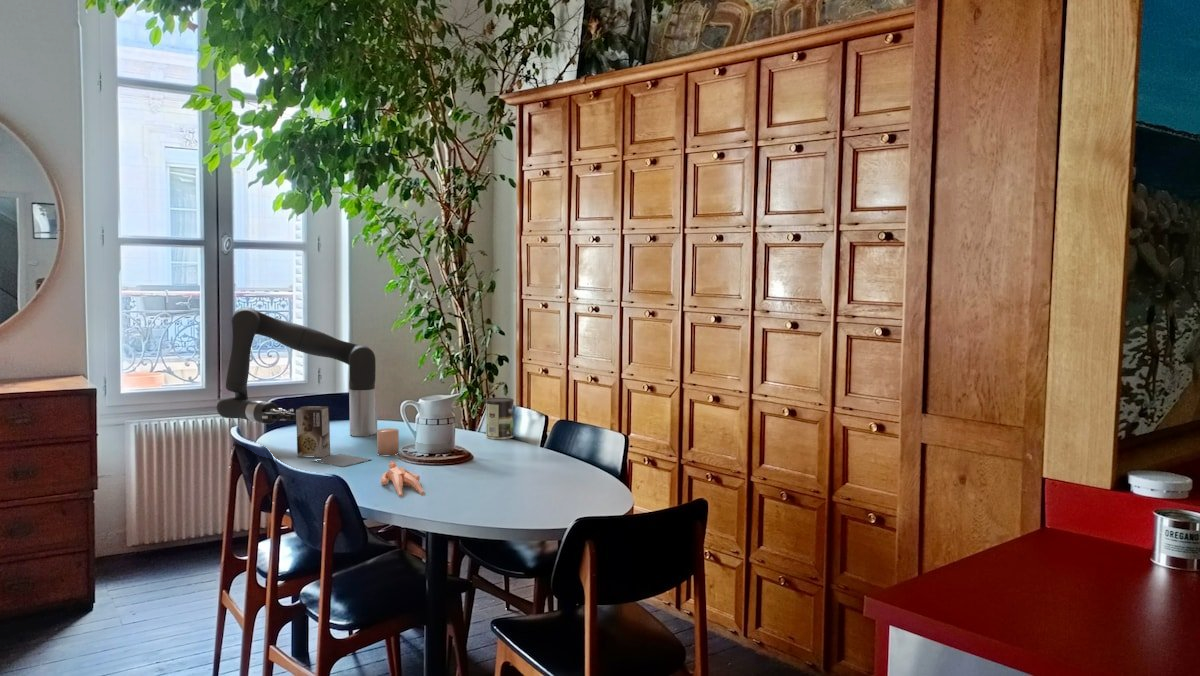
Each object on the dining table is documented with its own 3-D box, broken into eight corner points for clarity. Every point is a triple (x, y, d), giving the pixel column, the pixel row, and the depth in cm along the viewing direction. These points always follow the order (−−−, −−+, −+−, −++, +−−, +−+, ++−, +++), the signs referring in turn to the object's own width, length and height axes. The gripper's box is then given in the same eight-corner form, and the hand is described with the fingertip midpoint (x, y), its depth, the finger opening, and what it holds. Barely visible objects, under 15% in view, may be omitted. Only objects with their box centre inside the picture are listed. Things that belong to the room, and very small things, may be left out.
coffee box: (330, 453, 290) (330, 406, 289) (322, 458, 284) (322, 409, 282) (304, 452, 291) (304, 405, 290) (296, 457, 285) (295, 408, 283)
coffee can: (514, 434, 327) (515, 397, 326) (511, 439, 317) (511, 401, 316) (487, 434, 327) (487, 397, 326) (483, 439, 317) (483, 401, 316)
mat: (340, 454, 289) (340, 453, 289) (371, 460, 281) (371, 459, 281) (311, 461, 279) (311, 460, 279) (343, 467, 271) (342, 466, 271)
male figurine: (392, 487, 236) (373, 460, 258) (392, 504, 237) (373, 476, 259) (431, 483, 241) (409, 457, 263) (430, 500, 241) (408, 473, 263)
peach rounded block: (388, 450, 296) (388, 427, 295) (403, 453, 292) (403, 429, 292) (372, 454, 290) (372, 430, 289) (387, 457, 286) (387, 433, 286)
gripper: (245, 403, 294) (278, 408, 285) (278, 399, 306) (310, 404, 296) (245, 425, 295) (278, 431, 286) (278, 420, 306) (311, 425, 297)
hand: (294, 417), depth 291 cm, fingers closed
